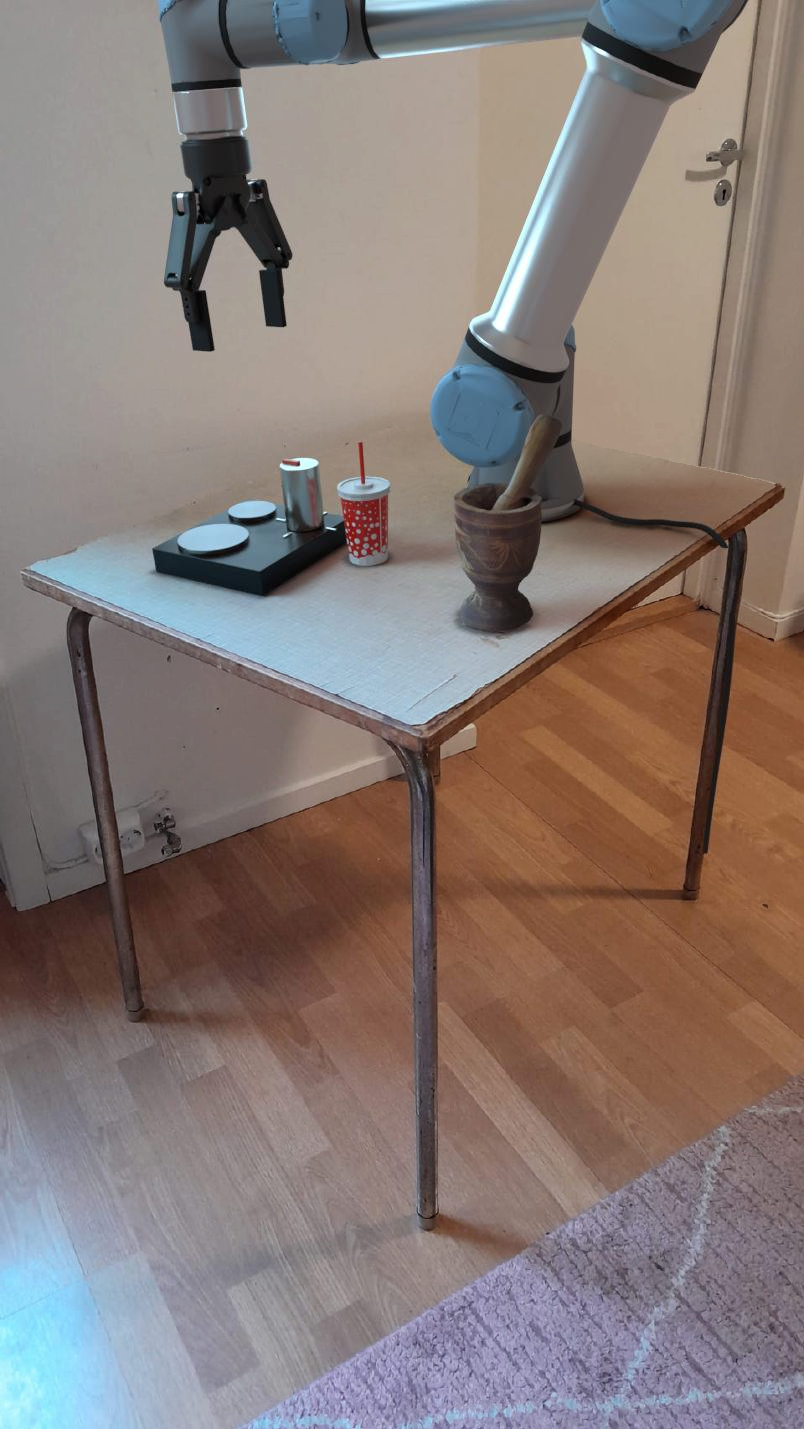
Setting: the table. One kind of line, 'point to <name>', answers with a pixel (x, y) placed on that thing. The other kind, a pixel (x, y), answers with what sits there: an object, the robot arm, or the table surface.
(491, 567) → the mortar and pestle
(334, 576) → the table surface
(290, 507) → the knob
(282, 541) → the hob
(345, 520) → the beverage cup
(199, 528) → the hot plates
